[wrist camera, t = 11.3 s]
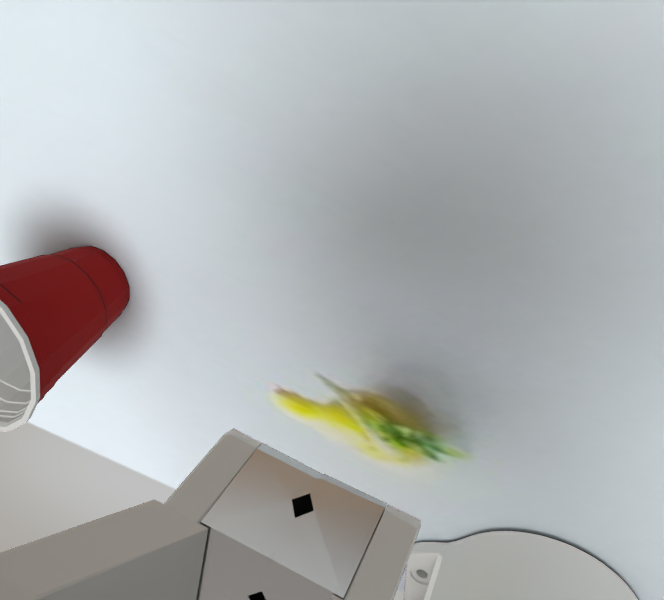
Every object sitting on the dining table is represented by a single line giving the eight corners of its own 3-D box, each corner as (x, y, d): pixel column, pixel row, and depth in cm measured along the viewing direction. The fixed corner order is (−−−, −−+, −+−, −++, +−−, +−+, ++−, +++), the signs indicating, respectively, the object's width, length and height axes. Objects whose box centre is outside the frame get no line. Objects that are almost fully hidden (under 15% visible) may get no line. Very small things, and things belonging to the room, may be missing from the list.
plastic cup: (146, 219, 43) (5, 293, 34) (168, 352, 48) (50, 450, 39) (27, 201, 47) (-131, 263, 37) (58, 326, 52) (-74, 410, 42)
